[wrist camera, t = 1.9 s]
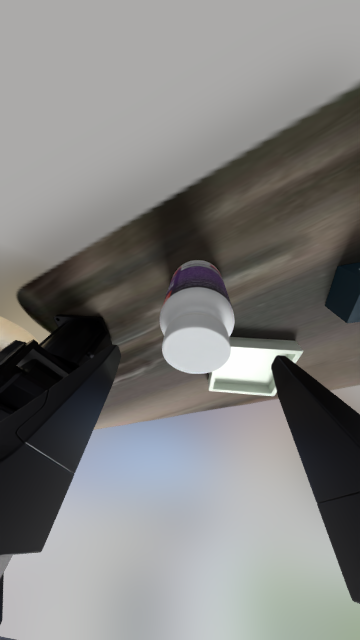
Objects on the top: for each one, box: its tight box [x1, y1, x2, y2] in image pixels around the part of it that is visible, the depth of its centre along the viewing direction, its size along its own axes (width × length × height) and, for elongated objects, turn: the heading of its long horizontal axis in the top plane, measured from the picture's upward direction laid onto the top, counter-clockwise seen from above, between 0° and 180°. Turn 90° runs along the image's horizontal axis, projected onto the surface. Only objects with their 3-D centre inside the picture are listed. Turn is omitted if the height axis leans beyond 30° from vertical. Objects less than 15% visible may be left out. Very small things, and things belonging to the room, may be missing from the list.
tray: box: [208, 337, 303, 396], centre depth 23 cm, size 10×10×2 cm
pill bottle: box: [160, 260, 235, 374], centre depth 13 cm, size 5×5×10 cm
